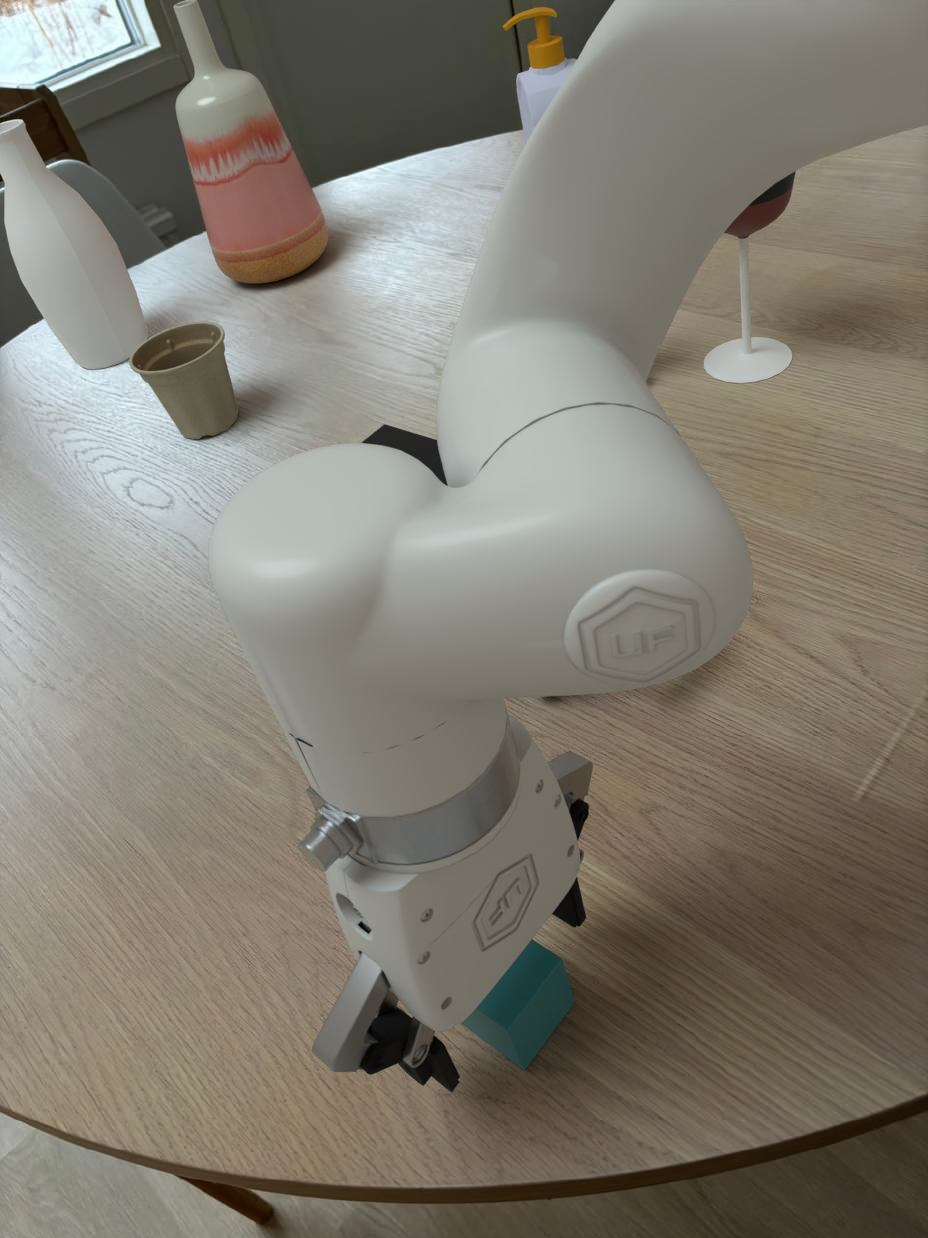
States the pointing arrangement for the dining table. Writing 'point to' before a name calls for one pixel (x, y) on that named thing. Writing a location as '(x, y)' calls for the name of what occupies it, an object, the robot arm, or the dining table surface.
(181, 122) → the vase
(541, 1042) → the teal block
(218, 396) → the flower pot
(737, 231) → the wineglass
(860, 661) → the dining table surface
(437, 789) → the robot arm
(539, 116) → the soap bottle
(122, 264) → the bottle
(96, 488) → the dining table surface
